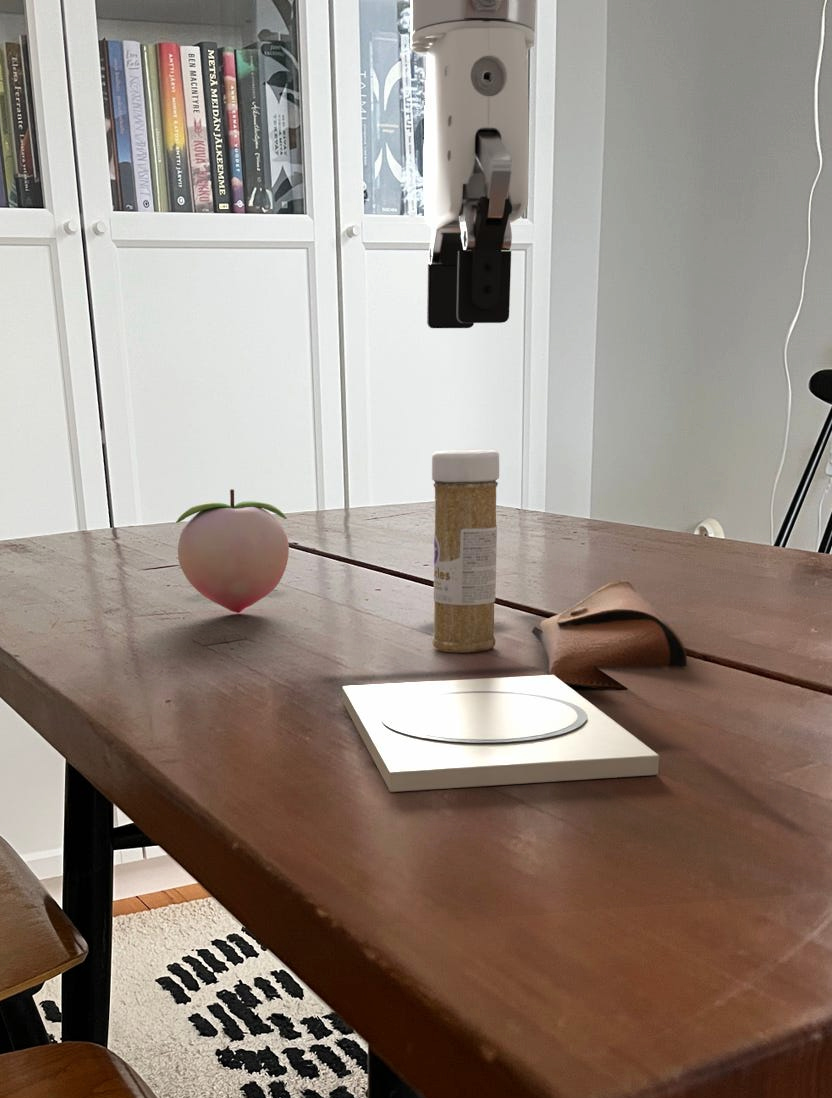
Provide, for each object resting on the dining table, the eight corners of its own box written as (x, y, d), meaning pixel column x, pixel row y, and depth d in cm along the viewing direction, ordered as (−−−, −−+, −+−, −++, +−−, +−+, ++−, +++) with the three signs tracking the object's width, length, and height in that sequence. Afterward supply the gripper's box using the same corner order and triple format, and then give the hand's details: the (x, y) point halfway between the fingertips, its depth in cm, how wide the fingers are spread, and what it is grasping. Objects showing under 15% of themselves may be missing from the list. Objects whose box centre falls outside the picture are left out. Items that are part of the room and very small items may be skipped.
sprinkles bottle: (422, 645, 91) (421, 450, 86) (480, 639, 92) (482, 447, 88) (447, 657, 87) (447, 453, 82) (507, 651, 88) (511, 450, 84)
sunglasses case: (523, 627, 93) (573, 547, 91) (603, 674, 94) (654, 596, 92) (547, 682, 77) (608, 586, 74) (644, 738, 78) (707, 645, 75)
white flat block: (553, 690, 77) (554, 672, 77) (658, 775, 60) (660, 752, 60) (342, 702, 76) (341, 684, 75) (390, 792, 59) (389, 769, 58)
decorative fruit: (213, 627, 100) (205, 496, 97) (168, 613, 107) (159, 490, 103) (314, 613, 105) (309, 488, 101) (265, 601, 111) (259, 483, 108)
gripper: (574, -21, 69) (558, 320, 75) (499, 54, 85) (491, 329, 91) (439, -25, 68) (434, 320, 74) (389, 51, 84) (388, 330, 90)
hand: (465, 325), depth 82 cm, fingers open, 9 cm apart
